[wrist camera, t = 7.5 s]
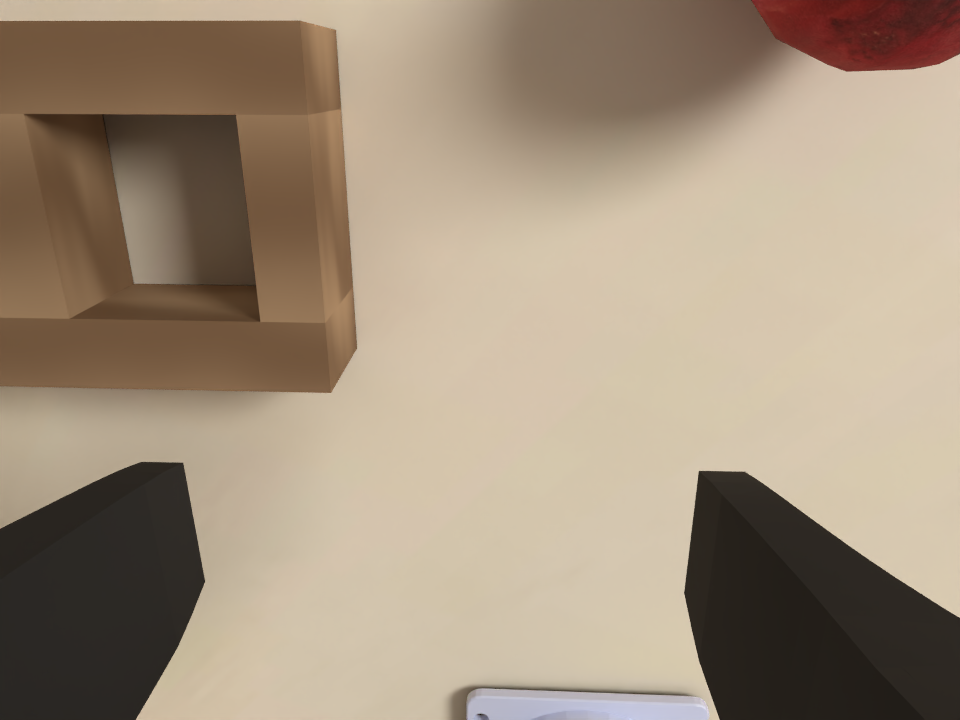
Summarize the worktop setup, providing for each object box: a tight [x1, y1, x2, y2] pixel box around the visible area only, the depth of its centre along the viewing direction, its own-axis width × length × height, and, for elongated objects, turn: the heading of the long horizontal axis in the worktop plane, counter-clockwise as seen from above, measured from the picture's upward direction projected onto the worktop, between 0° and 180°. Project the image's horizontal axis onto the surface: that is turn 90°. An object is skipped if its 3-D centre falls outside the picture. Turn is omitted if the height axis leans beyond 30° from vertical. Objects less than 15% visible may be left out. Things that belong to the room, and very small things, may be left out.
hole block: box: [0, 21, 357, 393], centre depth 17 cm, size 8×15×3 cm, turn 90°
